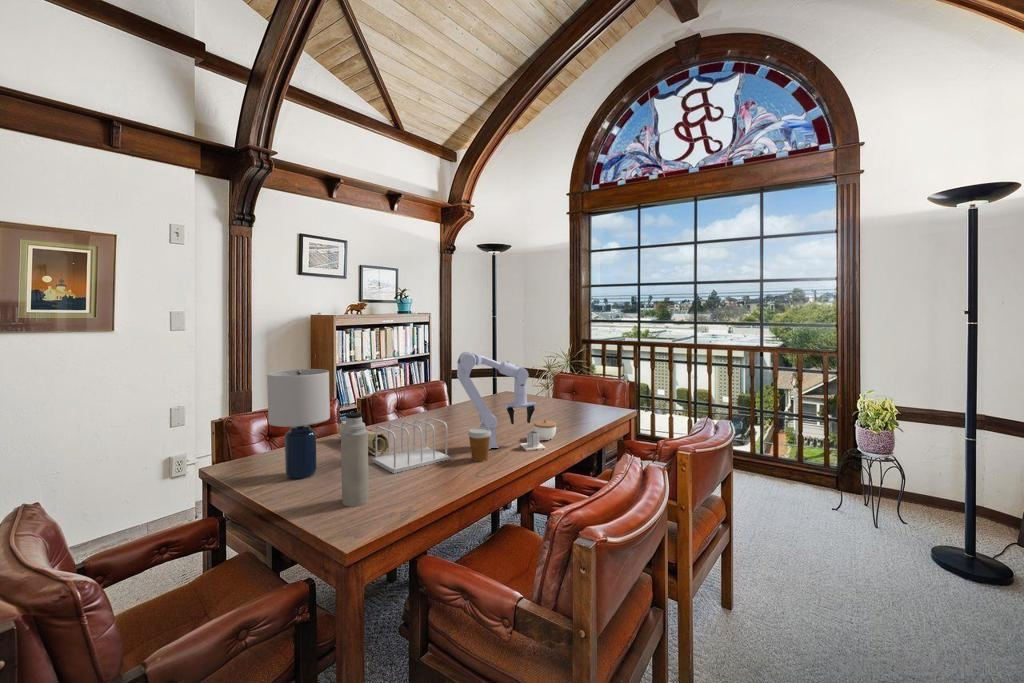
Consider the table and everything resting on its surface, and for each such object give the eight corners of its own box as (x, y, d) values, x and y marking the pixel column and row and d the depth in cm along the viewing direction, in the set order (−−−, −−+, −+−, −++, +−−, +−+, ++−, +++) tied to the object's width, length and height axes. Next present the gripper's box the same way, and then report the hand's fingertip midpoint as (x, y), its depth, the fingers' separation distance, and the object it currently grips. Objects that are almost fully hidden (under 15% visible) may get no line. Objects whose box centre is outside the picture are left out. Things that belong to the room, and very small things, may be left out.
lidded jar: (531, 441, 211) (531, 421, 211) (536, 435, 222) (536, 416, 221) (553, 443, 208) (553, 423, 208) (558, 437, 218) (558, 418, 218)
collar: (529, 447, 197) (529, 434, 197) (525, 444, 202) (525, 431, 202) (540, 446, 198) (540, 433, 198) (536, 443, 203) (536, 430, 203)
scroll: (358, 433, 219) (350, 415, 216) (394, 447, 195) (385, 428, 191) (338, 445, 212) (330, 427, 209) (373, 462, 188) (364, 442, 185)
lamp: (274, 469, 172) (271, 368, 170) (331, 463, 179) (329, 366, 177) (266, 488, 153) (262, 374, 151) (330, 481, 160) (328, 372, 158)
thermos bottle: (347, 496, 146) (345, 411, 145) (371, 496, 146) (370, 410, 145) (338, 506, 138) (336, 416, 137) (364, 506, 139) (363, 416, 137)
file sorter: (393, 474, 167) (392, 433, 166) (372, 463, 180) (372, 424, 179) (449, 460, 184) (449, 422, 183) (427, 450, 197) (426, 415, 196)
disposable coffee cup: (464, 457, 186) (464, 429, 186) (485, 454, 191) (485, 426, 190) (473, 464, 178) (473, 434, 177) (495, 461, 182) (495, 431, 182)
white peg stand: (526, 451, 195) (526, 442, 195) (520, 445, 204) (520, 436, 204) (545, 449, 198) (545, 440, 197) (539, 444, 206) (539, 435, 206)
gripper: (507, 395, 198) (507, 426, 199) (538, 394, 202) (538, 424, 203) (503, 393, 205) (503, 422, 206) (533, 391, 209) (533, 420, 210)
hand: (520, 423), depth 205 cm, fingers open, 7 cm apart
